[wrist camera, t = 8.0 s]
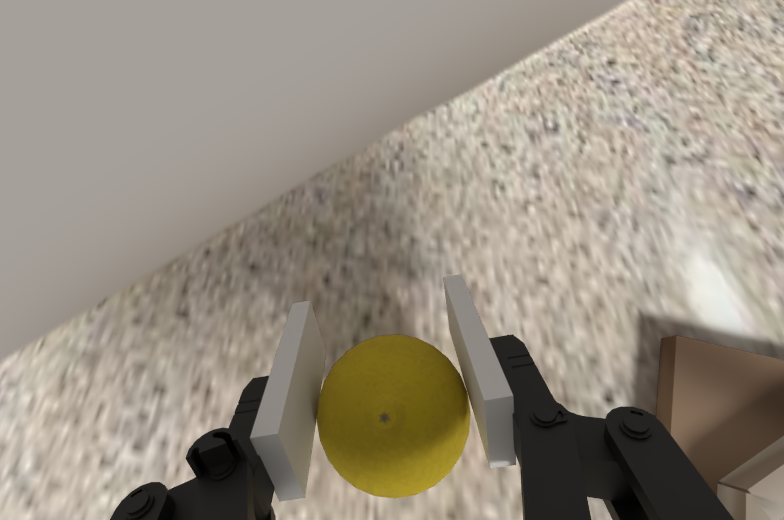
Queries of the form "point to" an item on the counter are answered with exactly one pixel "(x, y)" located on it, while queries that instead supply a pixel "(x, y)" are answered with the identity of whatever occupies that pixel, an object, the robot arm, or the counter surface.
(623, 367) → the counter surface
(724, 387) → the lemon holder
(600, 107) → the counter surface
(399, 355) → the lemon
